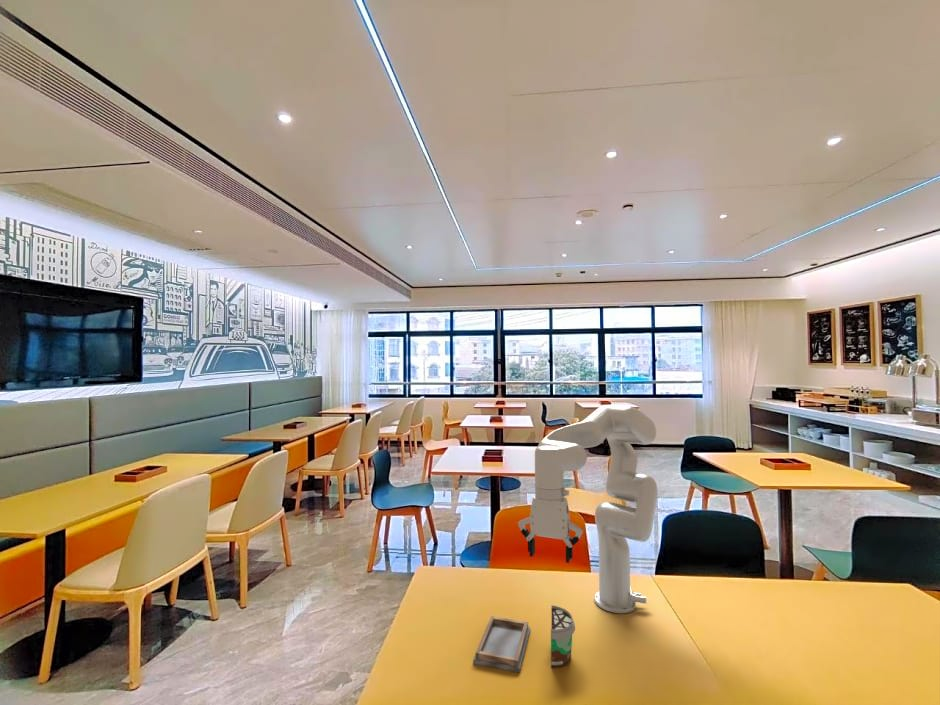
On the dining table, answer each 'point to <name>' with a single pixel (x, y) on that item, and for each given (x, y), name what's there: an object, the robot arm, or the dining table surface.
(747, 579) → the dining table surface
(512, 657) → the board
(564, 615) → the food container
